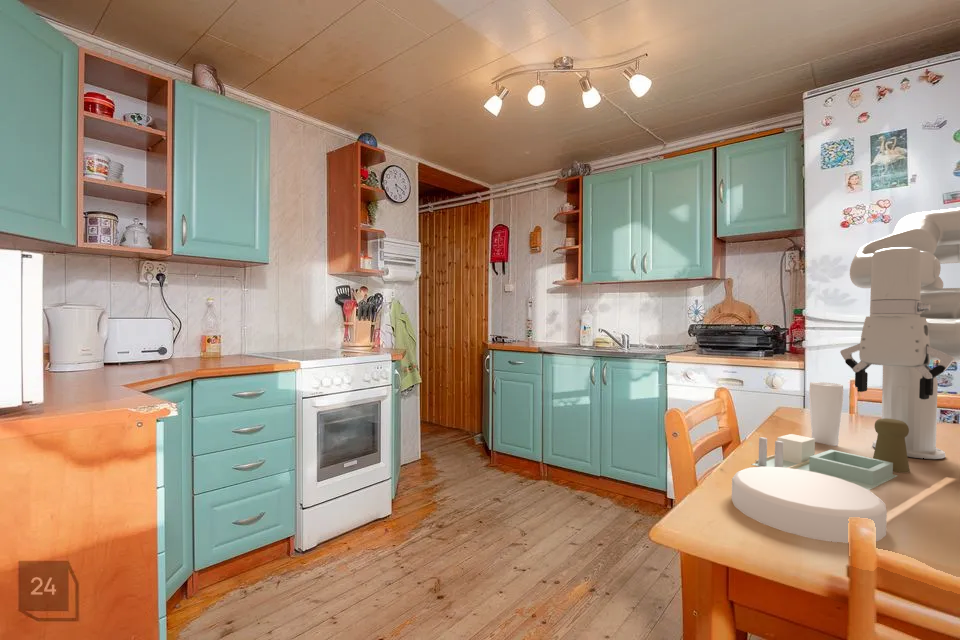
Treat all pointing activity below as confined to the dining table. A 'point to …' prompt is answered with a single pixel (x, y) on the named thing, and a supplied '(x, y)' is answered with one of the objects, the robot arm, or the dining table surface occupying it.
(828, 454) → the base
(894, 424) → the olive tapered round-topped piece
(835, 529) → the container
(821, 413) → the drinking glass
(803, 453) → the block
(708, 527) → the dining table surface
